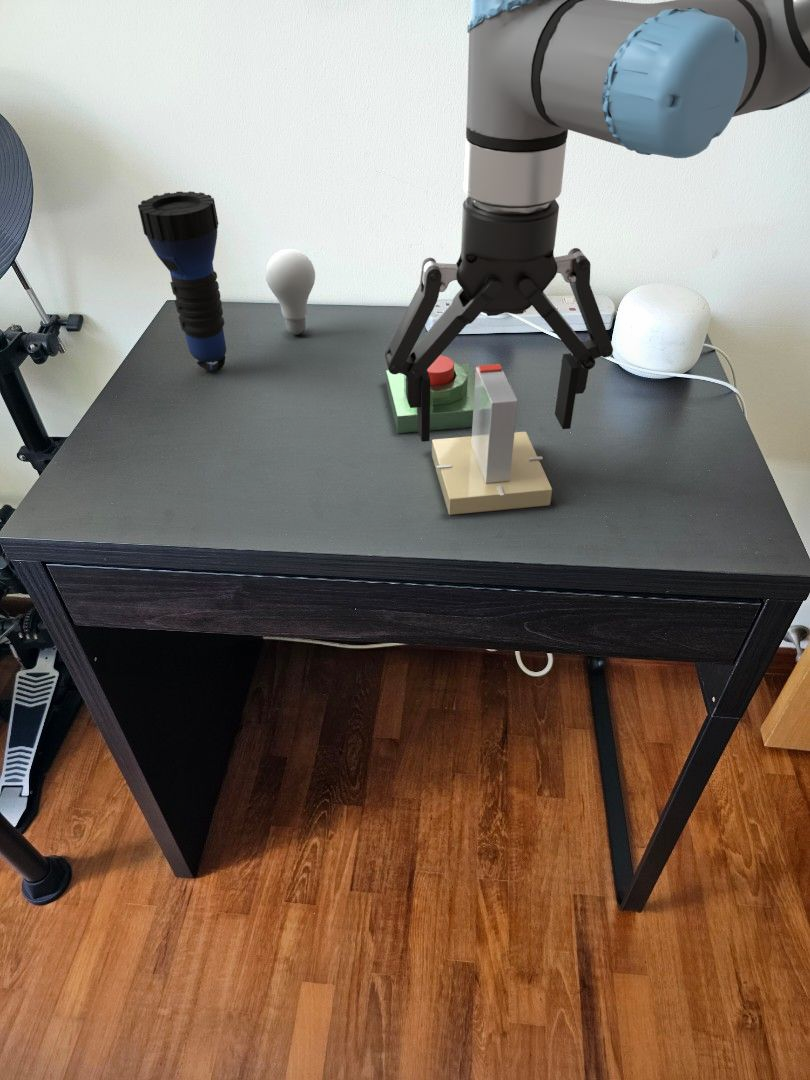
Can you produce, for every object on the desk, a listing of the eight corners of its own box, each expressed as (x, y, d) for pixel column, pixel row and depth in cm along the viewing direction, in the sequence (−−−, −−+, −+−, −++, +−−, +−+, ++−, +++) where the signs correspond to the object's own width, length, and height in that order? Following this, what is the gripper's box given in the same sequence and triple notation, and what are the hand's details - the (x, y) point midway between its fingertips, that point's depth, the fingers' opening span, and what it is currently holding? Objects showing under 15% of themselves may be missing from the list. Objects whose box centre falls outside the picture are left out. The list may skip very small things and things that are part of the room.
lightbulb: (266, 342, 102) (255, 258, 95) (282, 321, 106) (272, 239, 99) (311, 347, 101) (304, 262, 94) (325, 325, 105) (319, 243, 98)
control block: (487, 426, 87) (489, 394, 84) (397, 433, 86) (397, 401, 83) (469, 379, 94) (470, 349, 92) (386, 386, 93) (385, 356, 91)
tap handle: (509, 481, 76) (518, 398, 70) (485, 483, 76) (491, 400, 70) (493, 443, 81) (500, 362, 75) (470, 445, 81) (475, 364, 75)
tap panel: (554, 507, 76) (557, 489, 75) (445, 517, 75) (446, 500, 74) (526, 444, 84) (528, 427, 83) (427, 453, 83) (428, 436, 82)
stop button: (456, 385, 87) (457, 371, 85) (420, 388, 86) (420, 374, 85) (450, 367, 90) (450, 353, 88) (415, 370, 89) (415, 356, 88)
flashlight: (177, 357, 99) (140, 191, 86) (241, 352, 100) (214, 187, 87) (174, 390, 93) (134, 217, 80) (242, 384, 94) (213, 212, 81)
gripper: (647, 174, 66) (606, 396, 80) (347, 190, 63) (360, 417, 77) (683, 204, 60) (632, 437, 74) (356, 224, 58) (368, 461, 72)
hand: (493, 427), depth 76 cm, fingers open, 13 cm apart
